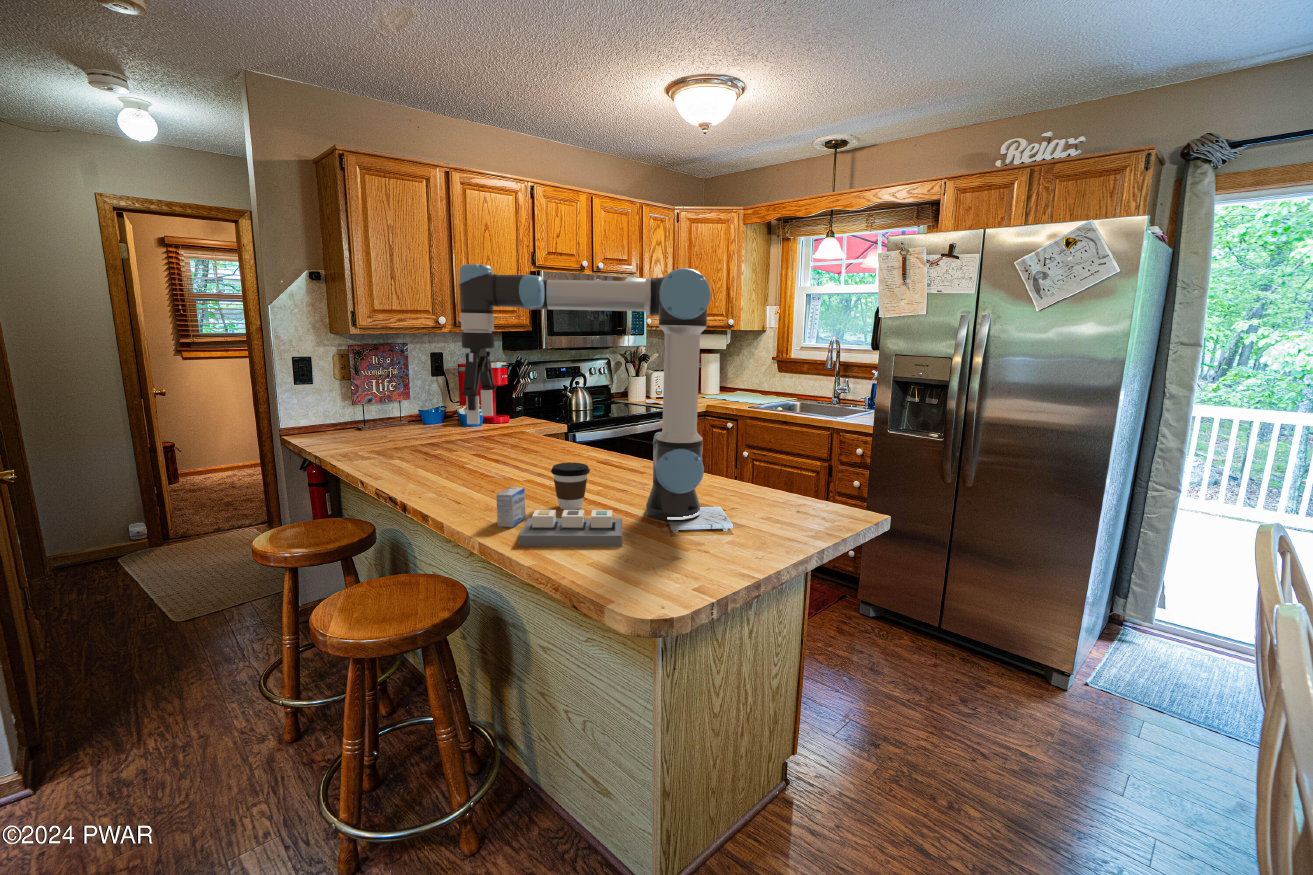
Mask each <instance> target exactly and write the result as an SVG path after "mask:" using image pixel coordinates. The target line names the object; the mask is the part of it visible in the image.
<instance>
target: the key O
mask: <svg viewBox="0 0 1313 875" xmlns="http://www.w3.org/2000/svg"><path fill="white" fill-rule="evenodd" d="M590 518H591V528H612V518H613V509H611V510H610V509H592V510H591V514H590Z"/></svg>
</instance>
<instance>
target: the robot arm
mask: <svg viewBox="0 0 1313 875" xmlns="http://www.w3.org/2000/svg"><path fill="white" fill-rule="evenodd" d="M458 276H459V280H458V287H459V288H458V289H459V302H460V303H459V304H460V305H459V306H460V317H458V321H459V322H460V325H461V326H460V327H461V329H460V330H462V331H463V332H462V333H461V334H460V335H461V336H460V338H461V348H462V349H470V350H469V352H466V353H465V368H464V379H463V388H462V392H461V396H462V397H466V398H465V399H466V400H465V401H466V402H465V403H466V406H465V407H466V423H467V425H479V424H480V421H481V420H480V414H481V416H482V417H483V416H485V417H488V416H489V417H491V416H492V417H493V416H494V409H493V405H494V404H493V391H495V390H496V385H495V383H494V374H493V368H492V363H491V351H490V350H491V349H493V348H495V334H494V333H493V332H492V331H494V330H495V324H494V322H495V319H494V318H495V317H494V307H496V308H500V307H501V308H520V309H523V310H527V311H528V310H529V311H534V310H565V311H567V310H568V311H571V310H573V311H610V312H611V311H615V312H617V311H618V312H644V313H645V314H646V315H648V316H657V317H658V327H659V329H660V330H662V332H663V333H664V347H663V348H664V349H663V350H664V352H663V354H664V355H663V358H664V359H663V390H662V391H663V392H662V394H663V395H662V398H663V399H662V400H663V402H662V428H661V429H662V430H661V431H658V432H656V433H655V434H654V436H653V441H652V445H653V452H652V454H653V455H652V457H653V459H652V486H651V490H650V493H649V496H648V498H647V502H646V503H645V504H646V506H645V513H646V515H647V516H649V517H651V518H653V519H657V520H662V521H668V520H667V517H683V516H689V515H693V514H695V513H697V512H698V511H699V510H700V511H701V504H700V501H699V498H698V493H697V491H696V488H697V487H698V486H699V485H700V484H701V482H702V480H703V477H704V472H705V466H704V463H703V437H702V436H701V435H700V434H699V432H698V430H697V429H698V404H699V403H698V401H699V379H700V378H699V376H700V374H699V373H700V372H699V371H700V352H701V350H700V346H701V345H700V344H701V334H702V333H703V332H704V331H705V330H706V329H707V326H708V323H707V322H708V307H709V304H710V301H711V296H712V294H711V287H710V285H709V282H708V280H707V279H706V277H705V276H704V275H703V274H702V273H700V271H697V270H695V269H692V268H688V267H687V268H686V267H684V268H677V269H674V270H672V271H670V272H669V273H668V274H666V276H661V277H648V278H647V279H646V280H645V281H642V280H641V281H634V280H633V281H630V280H628V281H627V280H585V279H584V280H583V279H581V280H579V279H578V280H577V279H576V280H575V279H543V277H541V276H540V275H535V274H534V275H533V274H530V273H529V274H496V273H494V272H493V269H492V267H491V266H490V265H487V264H475V263H474V264H473V263H472V264H471V263H469V264H468V263H467V264H462V265H461V266H460V267H459V275H458ZM487 349H488V350H489V349H490V350H489V351H488V350H487ZM479 386H480V387H481V389H480V396H479V395H478V391H479ZM480 404H481V405H480ZM480 410H481V411H480ZM480 412H481V413H480Z"/></svg>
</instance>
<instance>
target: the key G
mask: <svg viewBox="0 0 1313 875" xmlns="http://www.w3.org/2000/svg"><path fill="white" fill-rule="evenodd" d="M531 518H532V527H554V525H555V522H556V518H557V510H556V509H535V510H534V512H533V514H532V516H531Z"/></svg>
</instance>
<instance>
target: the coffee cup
mask: <svg viewBox="0 0 1313 875" xmlns="http://www.w3.org/2000/svg"><path fill="white" fill-rule="evenodd" d="M590 471H591V470H590V468H589V466H588V465H587V464H585V463H581V462H560V463H557V464H554V465H553V466H552V467H551V469H550V473H551V474H552V475H553V482H554V490H555V495H556V498H557V503H558V506H559V508H560V509H561V510H563V511H564V510H581V508H582V507H583V505H584V498H585V495H586V494H585V493H586V490H587V482H588V474H590Z"/></svg>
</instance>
